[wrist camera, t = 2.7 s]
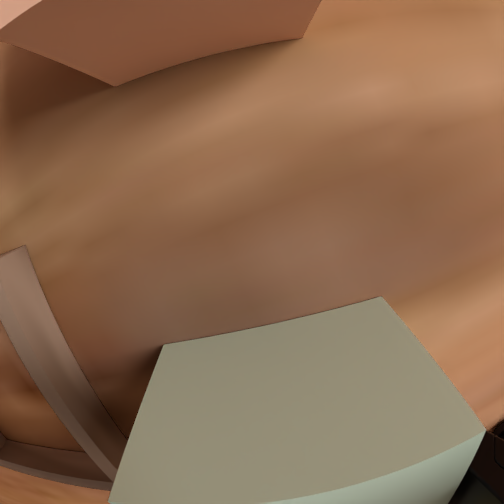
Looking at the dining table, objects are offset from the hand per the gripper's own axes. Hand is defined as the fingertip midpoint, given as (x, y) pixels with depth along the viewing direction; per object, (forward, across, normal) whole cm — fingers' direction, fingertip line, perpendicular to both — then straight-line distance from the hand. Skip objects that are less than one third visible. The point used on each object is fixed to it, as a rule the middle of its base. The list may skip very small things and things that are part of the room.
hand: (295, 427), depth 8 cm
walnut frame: (+1, +11, -2) cm, 11 cm away
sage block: (+1, 0, 0) cm, 1 cm away
